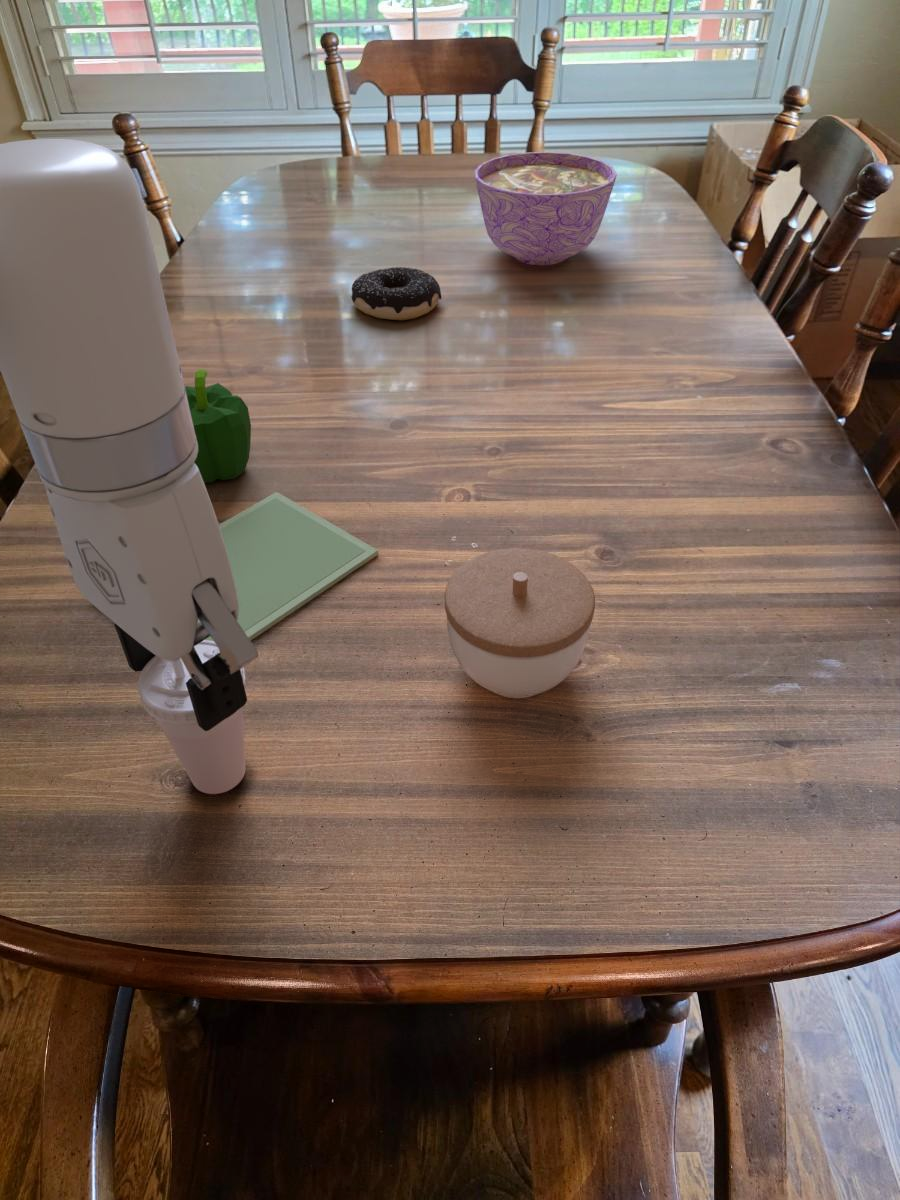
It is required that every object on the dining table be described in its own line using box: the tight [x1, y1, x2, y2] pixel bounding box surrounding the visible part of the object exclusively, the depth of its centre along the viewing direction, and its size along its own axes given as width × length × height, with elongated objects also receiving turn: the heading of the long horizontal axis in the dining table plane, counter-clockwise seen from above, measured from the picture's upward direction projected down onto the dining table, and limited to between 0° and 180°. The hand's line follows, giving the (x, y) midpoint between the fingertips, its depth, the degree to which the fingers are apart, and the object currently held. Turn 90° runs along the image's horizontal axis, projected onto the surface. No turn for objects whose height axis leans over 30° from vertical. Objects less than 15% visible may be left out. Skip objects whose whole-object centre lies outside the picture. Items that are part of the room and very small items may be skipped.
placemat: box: [197, 491, 379, 642], centre depth 75 cm, size 20×14×1 cm
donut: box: [350, 266, 442, 321], centre depth 116 cm, size 11×12×4 cm
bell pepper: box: [185, 368, 252, 484], centre depth 85 cm, size 8×8×10 cm
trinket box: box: [444, 547, 596, 699], centre depth 64 cm, size 11×11×9 cm
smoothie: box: [137, 640, 247, 795], centre depth 55 cm, size 6×6×14 cm
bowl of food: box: [474, 151, 618, 266], centre depth 126 cm, size 20×20×12 cm
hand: (187, 684), depth 53 cm, fingers closed on smoothie, 6 cm apart
